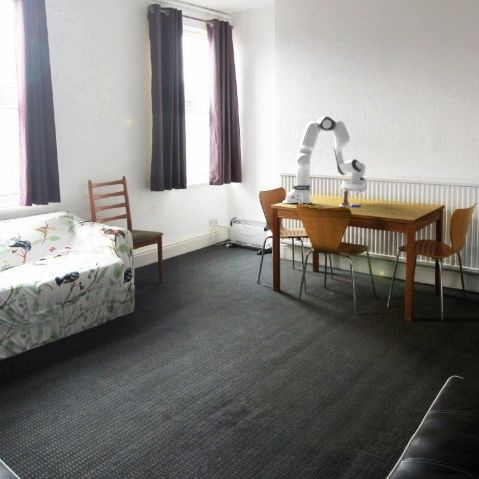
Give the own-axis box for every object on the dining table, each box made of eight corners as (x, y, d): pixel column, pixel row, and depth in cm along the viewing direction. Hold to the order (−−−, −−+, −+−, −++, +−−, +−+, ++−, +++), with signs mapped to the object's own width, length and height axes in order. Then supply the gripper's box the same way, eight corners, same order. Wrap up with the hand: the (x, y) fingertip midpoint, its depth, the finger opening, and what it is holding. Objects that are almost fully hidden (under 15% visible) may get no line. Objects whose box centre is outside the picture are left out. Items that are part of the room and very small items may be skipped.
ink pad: (351, 206, 430) (351, 205, 429) (352, 205, 437) (352, 203, 437) (359, 206, 428) (359, 205, 428) (360, 205, 436) (360, 203, 435)
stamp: (342, 205, 434) (342, 190, 432) (342, 204, 439) (343, 189, 436) (348, 205, 433) (348, 190, 431) (348, 204, 437) (349, 189, 435)
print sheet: (338, 206, 433) (338, 205, 433) (340, 204, 441) (340, 204, 441) (351, 206, 430) (351, 206, 430) (352, 204, 439) (352, 204, 439)
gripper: (342, 177, 453) (337, 191, 446) (367, 178, 442) (362, 192, 436) (344, 182, 457) (339, 196, 451) (369, 183, 447) (364, 197, 441)
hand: (351, 194), depth 443 cm, fingers open, 8 cm apart
